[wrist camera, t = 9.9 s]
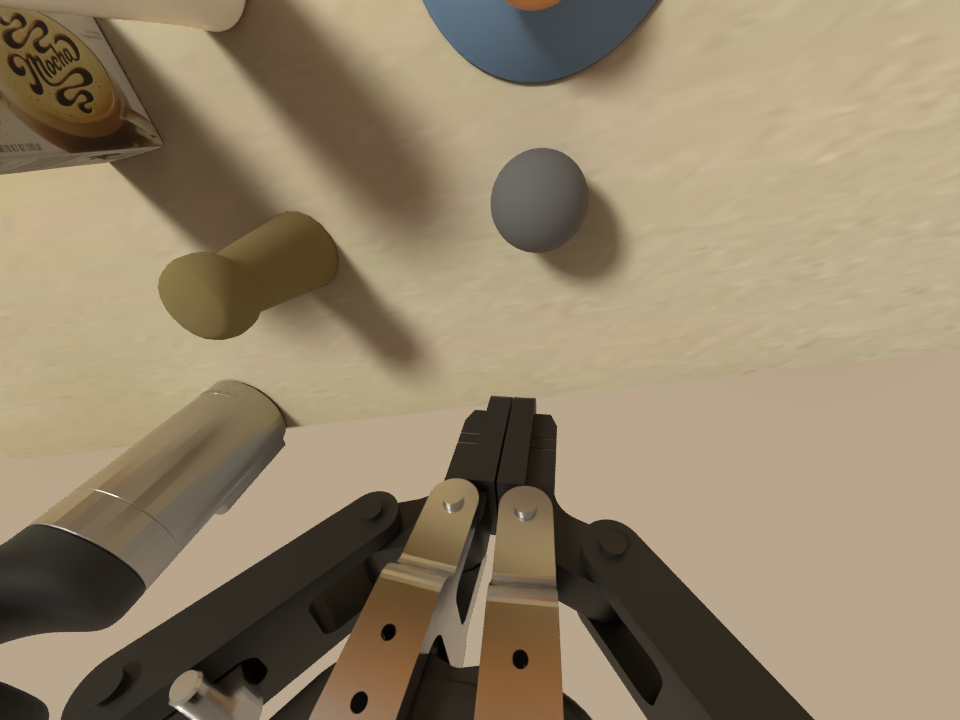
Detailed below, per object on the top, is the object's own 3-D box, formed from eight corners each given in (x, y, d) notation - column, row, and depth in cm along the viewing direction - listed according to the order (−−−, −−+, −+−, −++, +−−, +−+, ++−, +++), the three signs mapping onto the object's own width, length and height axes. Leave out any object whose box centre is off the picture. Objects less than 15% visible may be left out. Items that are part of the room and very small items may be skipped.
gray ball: (585, 228, 18) (595, 120, 19) (475, 228, 20) (486, 127, 20) (582, 266, 24) (590, 181, 24) (496, 264, 25) (504, 184, 26)
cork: (352, 254, 29) (254, 316, 20) (316, 300, 32) (217, 372, 23) (287, 193, 28) (150, 231, 19) (256, 248, 31) (125, 303, 22)
